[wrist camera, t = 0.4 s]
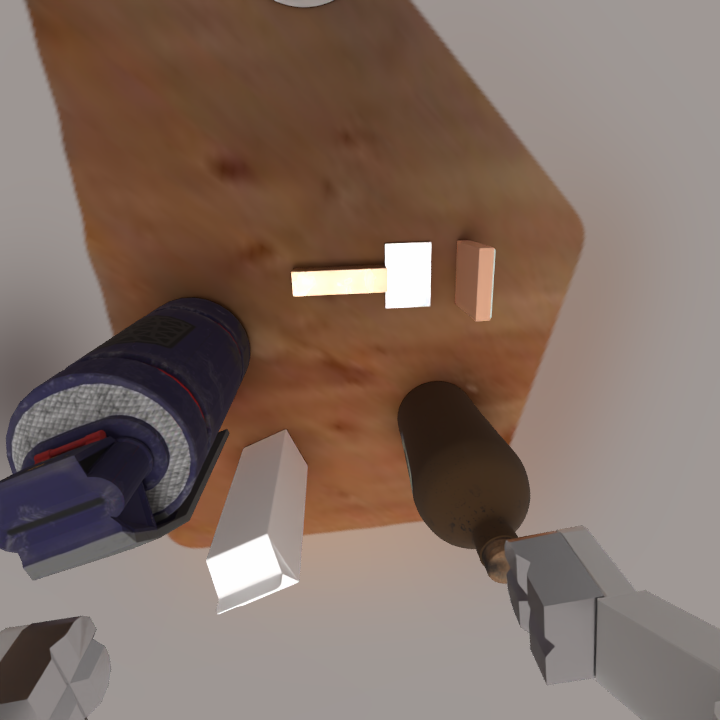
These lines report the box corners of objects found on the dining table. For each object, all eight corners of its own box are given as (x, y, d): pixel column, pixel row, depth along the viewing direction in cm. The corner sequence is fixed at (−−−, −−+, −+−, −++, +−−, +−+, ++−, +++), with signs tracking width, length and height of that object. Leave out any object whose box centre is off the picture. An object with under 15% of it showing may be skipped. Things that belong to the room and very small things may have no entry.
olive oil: (446, 359, 55) (535, 480, 32) (492, 421, 58) (603, 573, 35) (375, 410, 57) (408, 561, 33) (423, 467, 60) (485, 643, 36)
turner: (291, 247, 50) (289, 249, 47) (429, 241, 51) (435, 244, 48) (296, 310, 52) (294, 317, 49) (428, 304, 53) (434, 310, 50)
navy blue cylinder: (124, 318, 51) (-129, 469, 23) (223, 278, 50) (89, 384, 22) (184, 422, 56) (36, 655, 27) (276, 387, 55) (221, 590, 27)
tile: (457, 240, 51) (479, 248, 43) (471, 240, 51) (496, 247, 43) (454, 303, 53) (475, 321, 45) (468, 302, 53) (491, 320, 45)
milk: (243, 447, 57) (193, 589, 37) (287, 427, 57) (261, 560, 36) (267, 485, 59) (232, 639, 38) (309, 466, 59) (297, 613, 38)
